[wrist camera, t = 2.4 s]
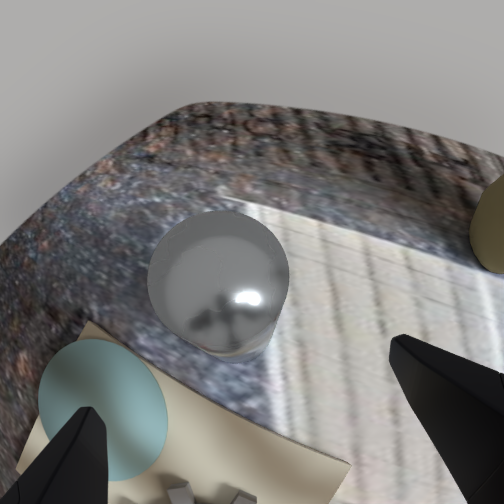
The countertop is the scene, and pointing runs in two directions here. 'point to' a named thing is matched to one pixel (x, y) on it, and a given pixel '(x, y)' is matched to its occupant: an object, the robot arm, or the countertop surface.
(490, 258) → the squeeze bottle
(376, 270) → the countertop surface
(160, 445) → the board
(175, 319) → the axle
